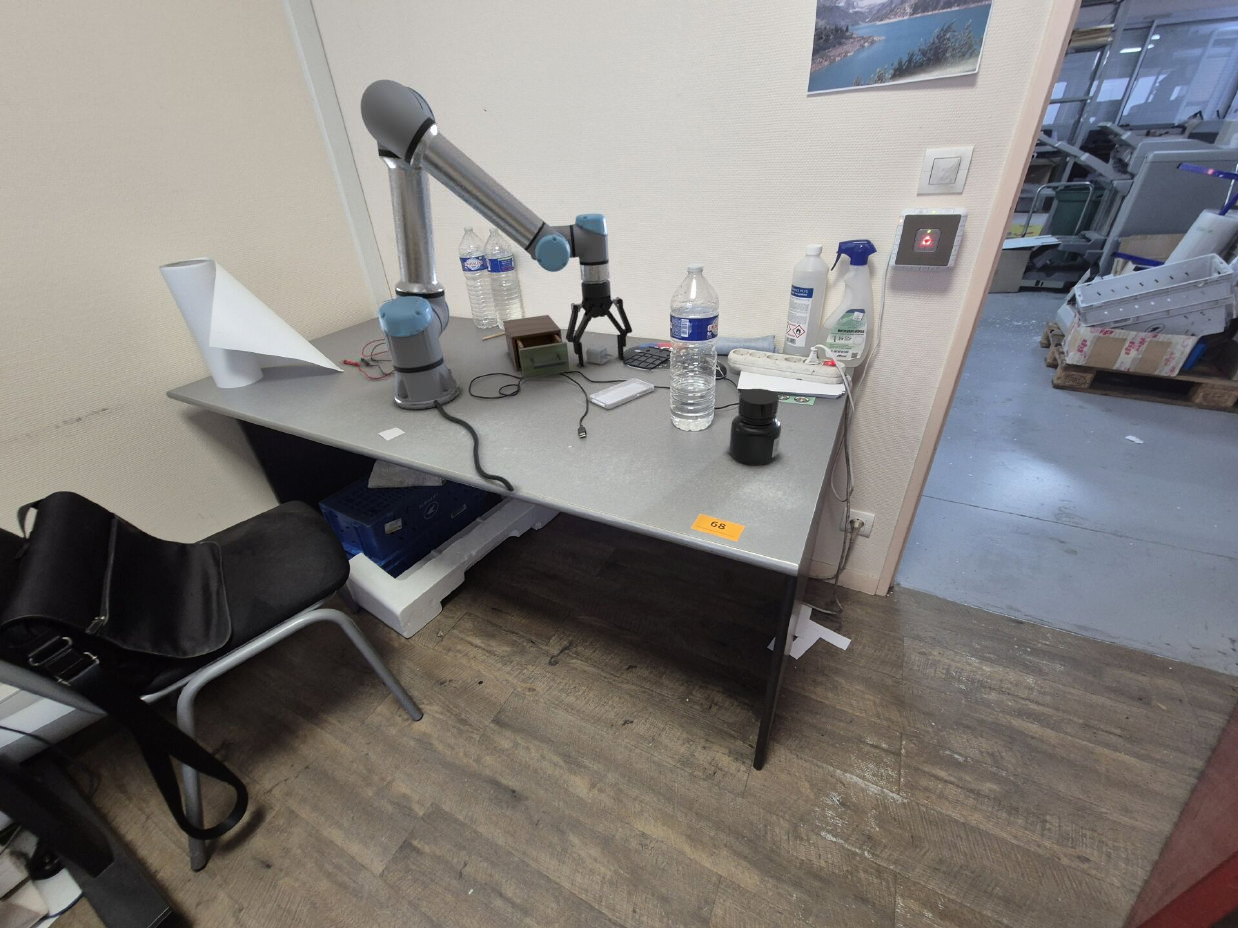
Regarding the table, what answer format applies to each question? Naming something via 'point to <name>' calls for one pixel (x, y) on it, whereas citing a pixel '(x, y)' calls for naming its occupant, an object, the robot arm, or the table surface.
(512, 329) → the cabinet
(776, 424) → the ink bottle
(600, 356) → the usb wall charger
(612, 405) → the phone case
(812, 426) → the table surface
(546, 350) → the drawer
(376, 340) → the multimeter test leads
